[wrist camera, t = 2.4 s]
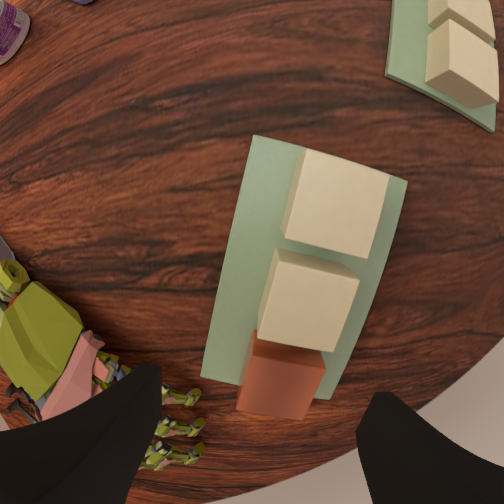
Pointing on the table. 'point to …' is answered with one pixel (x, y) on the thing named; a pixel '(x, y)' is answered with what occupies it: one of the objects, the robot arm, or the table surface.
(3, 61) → the pill bottle
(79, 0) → the smartphone
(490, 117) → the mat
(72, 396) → the robotic hand
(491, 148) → the table surface
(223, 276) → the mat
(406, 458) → the robot arm
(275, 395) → the reddish orange block
